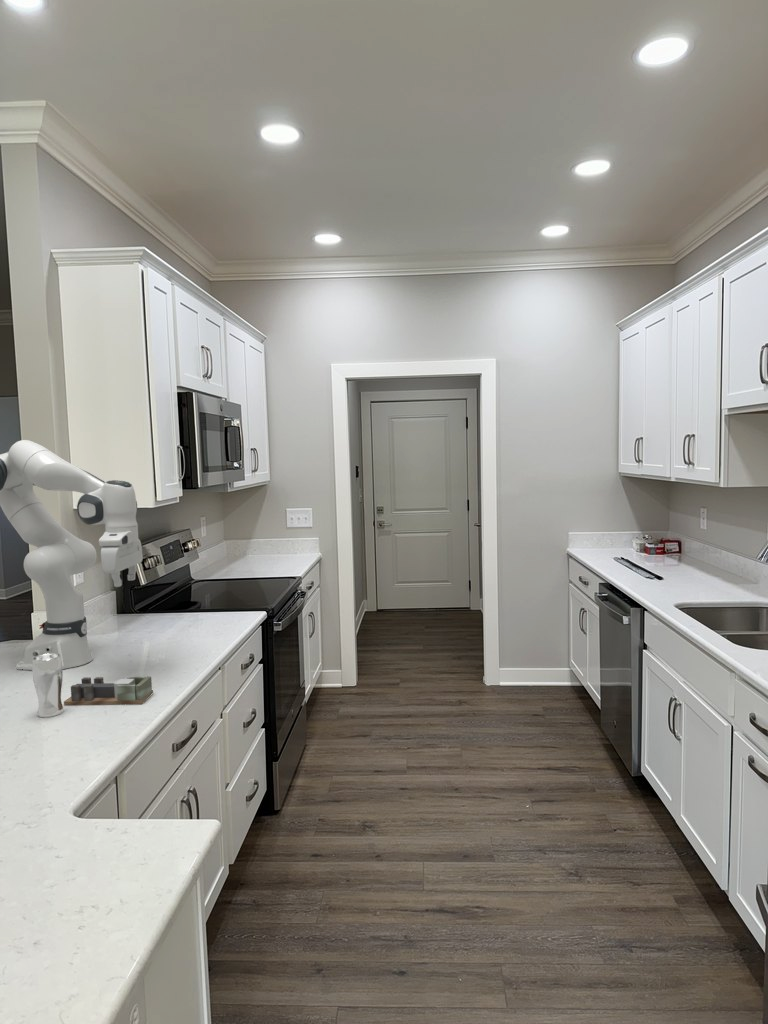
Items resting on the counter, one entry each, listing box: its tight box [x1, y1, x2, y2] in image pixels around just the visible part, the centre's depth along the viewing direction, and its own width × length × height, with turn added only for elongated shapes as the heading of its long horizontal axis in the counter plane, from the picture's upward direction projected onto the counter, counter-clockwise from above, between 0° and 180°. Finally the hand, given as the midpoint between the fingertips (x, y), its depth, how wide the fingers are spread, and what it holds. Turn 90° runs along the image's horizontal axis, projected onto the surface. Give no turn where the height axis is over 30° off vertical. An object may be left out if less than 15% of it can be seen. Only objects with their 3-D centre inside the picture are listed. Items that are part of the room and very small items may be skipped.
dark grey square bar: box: [75, 678, 135, 698], centre depth 185 cm, size 16×4×4 cm, turn 88°
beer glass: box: [31, 653, 64, 718], centre depth 176 cm, size 7×7×15 cm
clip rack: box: [63, 675, 154, 706], centre depth 185 cm, size 21×8×5 cm, turn 88°
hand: (125, 583), depth 199 cm, fingers open, 8 cm apart
